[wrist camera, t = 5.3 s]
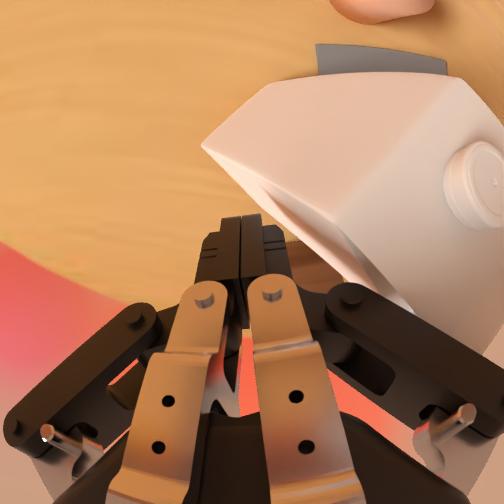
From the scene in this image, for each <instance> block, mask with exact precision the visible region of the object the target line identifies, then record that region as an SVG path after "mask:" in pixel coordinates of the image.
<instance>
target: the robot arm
mask: <svg viewBox="0 0 504 504" xmlns="http://www.w3.org/2000/svg"><path fill="white" fill-rule="evenodd" d="M249 319H250V322H249ZM250 323H251V330H252V338H253V346H254V351H253V360H254V369H255V377H256V385H257V393H258V401H259V408H260V412H256V413H253V414H250V415H246V416H242V417H240V408H239V400H238V394H239V383H240V372H241V361H242V350H243V347H242V329H250ZM135 359H137V360H138V361H139V362H138V363H137V364H136V365H135V366H133V367H132V368H131V369H130V370H129V371H128V372H127V373H126V374H125V375H124V376H122V377H121V378H120V379H119V380H118V381H117V382H116V383H115V384H113V385H108V384H109V383H110V382H111V381H112V380H113V379H114V378H115V377H117V376H118V375H119V374H120V373H121V372H122V371H123V370H124V369H125V368H126V367H128V366H129V365H130V364H131V363H132V362H133V361H134V360H135ZM327 369H329V370H330V371H332V372H333V373H334V374H335V375H337V376H338V377H339V378H341V379H342V380H343V381H345V382H346V383H348V384H349V385H350V386H351V387H353V388H354V389H356V390H357V391H358V392H360V393H361V394H362V395H364V396H365V397H367V398H368V399H369V400H371V401H372V402H374V403H375V404H376V405H378V406H379V407H381V408H382V409H384V410H385V411H386V412H388V413H389V414H391V415H392V416H394V417H395V418H396V419H398V420H400V421H401V422H402V423H404V424H405V425H407V426H408V427H410V428H411V429H413V430H414V435H413V446H414V449H415V451H416V452H417V454H418V455H420V456H421V457H422V458H423V460H424V461H425V463H426V467H427V468H426V467H424V466H423V465H421V464H420V463H419V462H417V461H416V460H415V459H413V458H411V457H410V456H409V455H408V454H406V453H405V452H403V451H402V450H401V449H399V448H398V447H397V446H395V445H394V444H393V443H391V442H390V441H389V440H387V439H386V438H385V437H383V436H382V435H381V434H380V433H378V432H377V431H375V430H374V429H373V428H372V427H371V426H369V425H368V424H367V423H365V422H364V421H362V420H360V419H359V418H357V417H354V416H352V415H350V414H347V413H344V412H341V411H339V409H338V406H337V402H336V399H335V395H334V391H333V388H332V384H331V381H330V377H329V374H328V371H327ZM130 426H131V428H130V430H129V431H128V432H127V433H126V434H125V435H123V437H122V438H120V439H119V440H118V441H117V442H116V443H115V444H114V445H113V446H112V447H111V448H110V449H109V450H108V451H107V452H106V453H105V454H104V452H103V450H105V448H107V447H108V446H109V445H110V444H111V443H112V442H113V441H114V440H115V439H117V438H118V437H119V436H120V435H121V434H122V433H123V432H124V431H125V430H126V429H128V428H129V427H130ZM3 432H4V437H5V439H6V441H7V443H8V444H9V445H10V446H12V447H14V448H15V449H17V450H19V451H21V452H23V453H25V454H27V455H28V456H29V457H30V458H31V459H32V461H33V463H34V465H35V467H36V469H37V471H38V473H39V475H40V477H41V479H42V481H43V483H44V484H45V486H46V488H47V490H48V491H49V493H50V495H51V496H52V498H53V500H54V503H53V504H471V503H470V501H469V499H468V498H467V495H468V494H469V492H470V490H471V489H472V487H473V485H474V484H475V482H476V480H477V479H478V477H479V475H480V474H481V472H482V470H483V468H484V466H485V464H486V462H487V461H488V458H489V457H490V454H491V453H492V450H493V448H494V446H495V444H496V442H497V439H498V437H499V436H500V435H501V434H502V433H504V369H502V368H501V367H499V366H498V365H496V364H495V363H493V362H491V361H490V360H488V359H487V358H485V357H483V356H482V355H480V354H479V353H477V352H475V351H474V350H472V349H471V348H469V347H467V346H466V345H464V344H462V343H461V342H459V341H458V340H456V339H454V338H453V337H451V336H449V335H448V334H446V333H444V332H443V331H441V330H439V329H438V328H436V327H434V326H433V325H431V324H429V323H428V322H426V321H424V320H423V319H421V318H419V317H417V316H416V315H414V314H412V313H411V312H409V311H407V310H405V309H404V308H402V307H400V306H399V305H397V304H395V303H393V302H392V301H390V300H388V299H386V298H385V297H383V296H381V295H379V294H378V293H376V292H374V291H372V290H371V289H369V288H367V287H365V286H363V285H361V284H358V283H353V282H345V283H341V284H338V285H336V286H334V287H332V288H331V289H330V290H329V292H328V293H327V294H324V293H316V292H310V291H307V290H305V289H303V288H301V287H300V286H298V285H297V284H296V283H295V281H294V280H293V277H292V273H291V268H290V263H289V258H288V253H287V249H286V243H285V238H284V234H283V231H282V230H281V229H280V228H279V227H278V226H277V225H267V226H262V219H261V213H260V214H252V215H244V216H242V219H241V216H237V217H229V218H222V220H221V227H220V231H219V232H212V233H209V235H208V236H207V237H206V238H205V239H204V241H203V244H202V248H201V253H200V259H199V262H198V267H197V272H196V277H195V282H194V285H192V286H191V287H189V288H188V289H187V290H186V291H185V292H184V294H183V295H182V297H181V301H180V304H178V305H176V306H173V307H170V308H167V309H164V310H161V311H158V312H156V310H155V309H154V307H153V306H152V305H150V304H148V303H135V304H132V305H130V306H128V307H126V308H125V309H124V310H123V311H121V312H120V313H119V314H118V315H116V316H115V317H114V318H113V319H112V320H110V321H109V322H108V323H107V324H106V325H104V326H103V327H102V328H101V329H100V330H99V331H97V332H96V333H95V334H94V335H93V336H92V337H90V338H89V339H88V340H87V341H86V342H85V343H84V344H82V345H81V346H80V347H79V348H78V349H77V350H75V351H74V352H73V353H72V354H71V355H70V356H69V357H67V358H66V359H65V360H64V361H63V362H62V363H61V364H60V365H59V366H58V367H56V368H55V369H54V370H53V371H52V372H51V373H50V374H49V375H47V376H46V377H45V378H44V379H43V380H42V381H41V382H40V383H39V384H38V385H37V386H36V387H35V388H33V389H32V390H31V391H30V392H29V393H28V394H27V395H26V396H25V397H24V398H23V399H22V400H21V401H20V402H19V403H17V405H15V406H14V407H13V408H12V409H11V410H10V411H9V412H8V414H7V415H6V418H5V420H4V425H3Z"/></svg>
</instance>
